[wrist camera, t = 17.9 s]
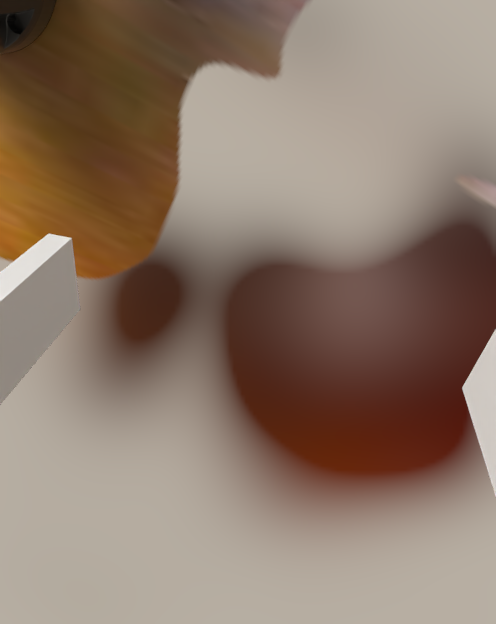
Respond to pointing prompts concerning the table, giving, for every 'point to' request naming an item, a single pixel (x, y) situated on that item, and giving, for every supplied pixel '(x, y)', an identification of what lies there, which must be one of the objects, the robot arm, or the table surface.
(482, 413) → the robot arm
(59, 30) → the table surface
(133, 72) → the table surface
